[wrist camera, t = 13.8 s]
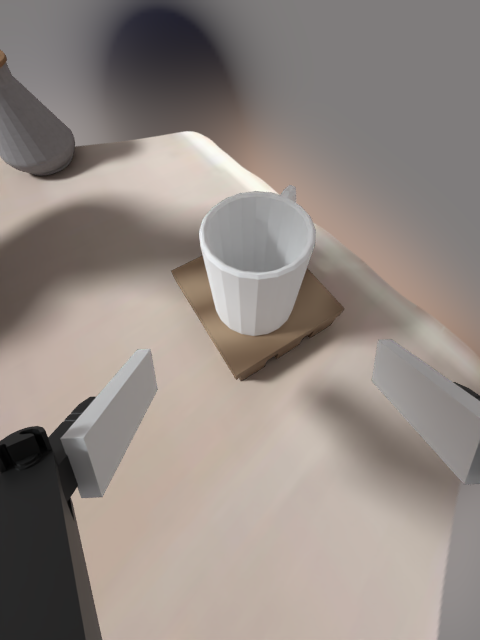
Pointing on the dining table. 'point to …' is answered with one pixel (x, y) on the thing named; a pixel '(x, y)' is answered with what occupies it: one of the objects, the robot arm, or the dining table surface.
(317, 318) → the dock
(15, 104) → the coffee pot
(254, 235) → the mug
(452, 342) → the dining table surface
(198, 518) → the dining table surface
